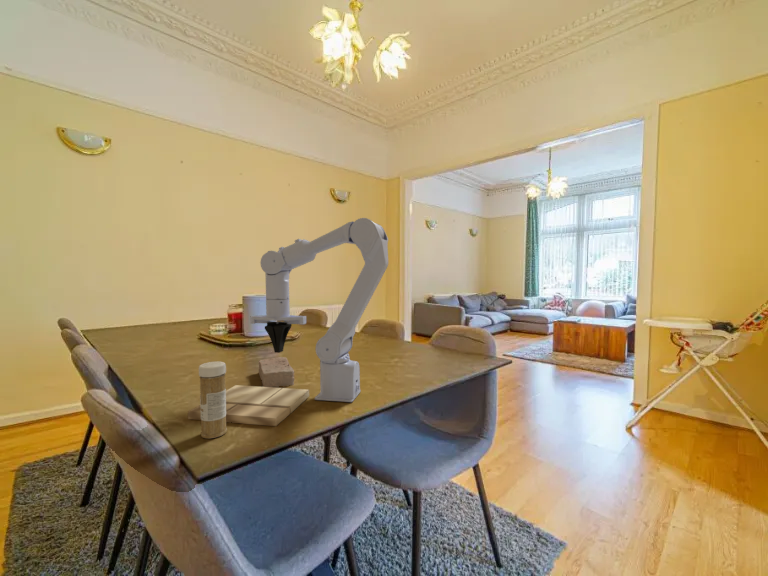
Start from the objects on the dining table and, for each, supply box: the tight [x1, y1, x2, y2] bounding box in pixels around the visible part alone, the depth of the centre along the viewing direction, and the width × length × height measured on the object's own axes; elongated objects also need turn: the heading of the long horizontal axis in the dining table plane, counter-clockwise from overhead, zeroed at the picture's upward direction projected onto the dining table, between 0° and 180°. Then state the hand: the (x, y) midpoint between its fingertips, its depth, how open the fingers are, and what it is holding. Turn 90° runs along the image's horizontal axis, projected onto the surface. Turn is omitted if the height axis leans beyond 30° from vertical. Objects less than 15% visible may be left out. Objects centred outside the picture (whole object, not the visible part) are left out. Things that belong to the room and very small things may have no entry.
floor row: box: [187, 402, 291, 427], centre depth 73 cm, size 20×6×2 cm, turn 79°
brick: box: [258, 356, 295, 388], centre depth 100 cm, size 17×8×5 cm, turn 24°
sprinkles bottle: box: [198, 360, 228, 439], centre depth 65 cm, size 5×5×14 cm
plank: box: [226, 384, 310, 414], centre depth 81 cm, size 20×10×2 cm, turn 79°
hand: (278, 351), depth 89 cm, fingers closed
